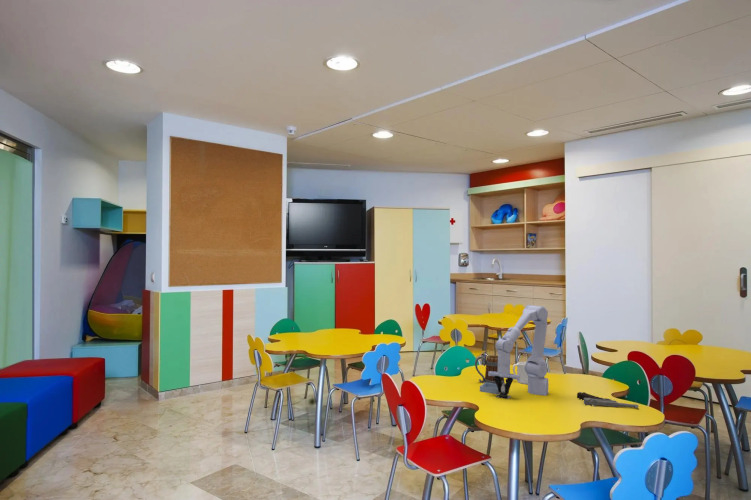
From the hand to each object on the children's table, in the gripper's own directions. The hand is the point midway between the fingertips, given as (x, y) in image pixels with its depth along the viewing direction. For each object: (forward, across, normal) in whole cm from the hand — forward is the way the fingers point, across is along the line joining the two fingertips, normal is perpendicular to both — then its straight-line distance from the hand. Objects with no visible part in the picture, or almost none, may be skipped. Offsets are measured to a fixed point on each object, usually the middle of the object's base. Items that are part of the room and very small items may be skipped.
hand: (503, 392), depth 219 cm
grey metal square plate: (+3, 0, 0) cm, 3 cm away
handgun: (+3, +42, +22) cm, 48 cm away
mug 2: (+3, 0, +39) cm, 39 cm away
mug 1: (+3, -14, +22) cm, 26 cm away
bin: (+3, -8, +7) cm, 11 cm away
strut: (+2, 0, 0) cm, 2 cm away
